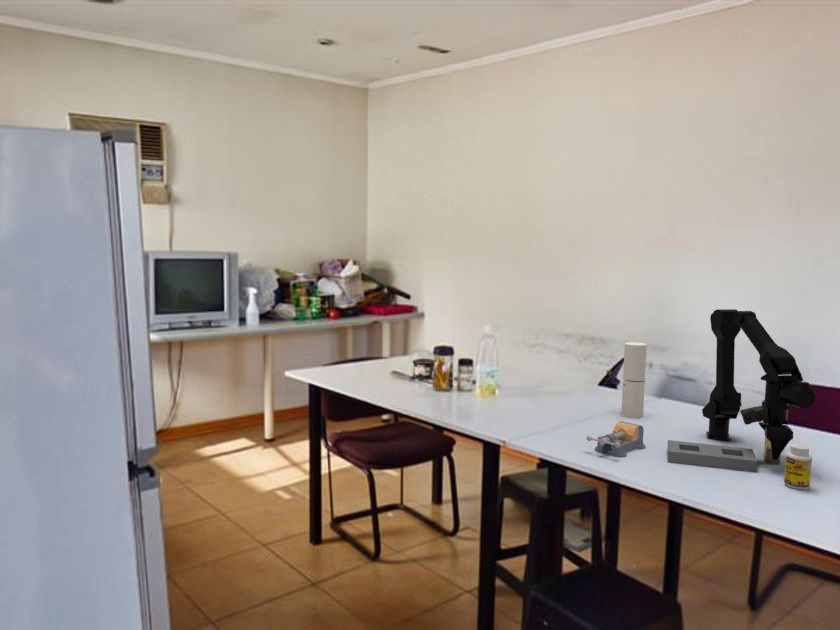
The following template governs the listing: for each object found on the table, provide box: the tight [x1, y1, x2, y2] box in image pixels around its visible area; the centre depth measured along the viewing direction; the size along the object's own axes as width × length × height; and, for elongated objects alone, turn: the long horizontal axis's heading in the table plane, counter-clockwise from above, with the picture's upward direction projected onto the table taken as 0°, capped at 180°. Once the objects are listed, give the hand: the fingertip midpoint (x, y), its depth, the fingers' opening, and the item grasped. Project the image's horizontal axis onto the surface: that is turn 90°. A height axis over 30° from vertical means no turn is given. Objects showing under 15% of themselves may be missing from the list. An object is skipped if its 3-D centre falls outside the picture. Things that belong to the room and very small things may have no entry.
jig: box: [666, 439, 759, 473], centre depth 185 cm, size 11×22×3 cm, turn 71°
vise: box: [586, 420, 647, 458], centre depth 194 cm, size 18×10×7 cm, turn 134°
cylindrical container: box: [620, 341, 648, 419], centre depth 231 cm, size 7×7×25 cm
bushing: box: [763, 435, 782, 466], centre depth 184 cm, size 4×4×8 cm
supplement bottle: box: [783, 443, 813, 490], centre depth 166 cm, size 6×6×10 cm
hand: (772, 455), depth 185 cm, fingers open, 8 cm apart
